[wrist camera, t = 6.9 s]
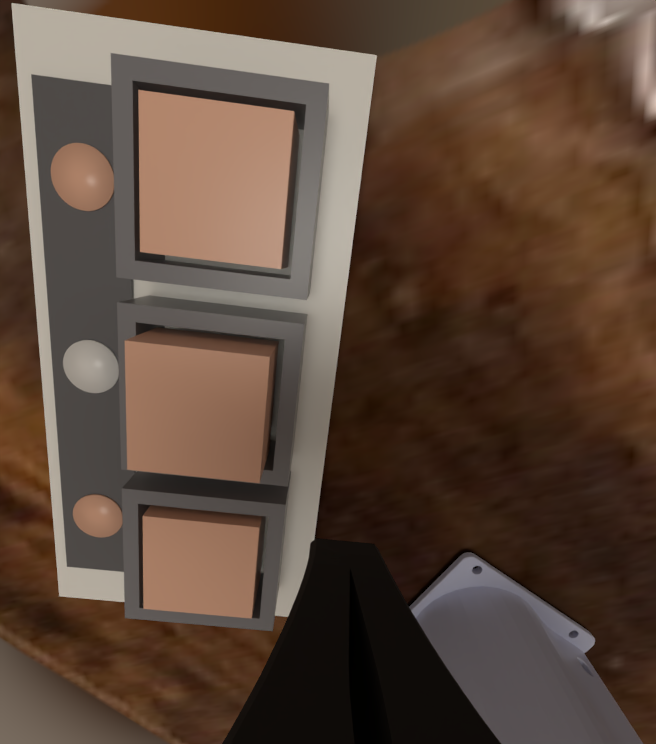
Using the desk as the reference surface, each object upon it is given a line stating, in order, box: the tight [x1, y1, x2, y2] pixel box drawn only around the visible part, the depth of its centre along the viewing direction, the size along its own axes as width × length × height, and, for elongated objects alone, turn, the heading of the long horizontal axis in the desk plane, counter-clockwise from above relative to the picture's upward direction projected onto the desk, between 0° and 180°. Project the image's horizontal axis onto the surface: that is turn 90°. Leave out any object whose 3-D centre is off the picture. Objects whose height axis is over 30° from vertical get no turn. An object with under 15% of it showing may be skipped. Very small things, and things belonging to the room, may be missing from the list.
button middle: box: [125, 327, 279, 483], centre depth 14 cm, size 4×4×2 cm
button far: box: [143, 505, 266, 619], centre depth 17 cm, size 4×4×2 cm
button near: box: [138, 90, 300, 269], centre depth 13 cm, size 4×4×2 cm
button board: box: [12, 3, 377, 631], centre depth 16 cm, size 24×12×4 cm, turn 173°
